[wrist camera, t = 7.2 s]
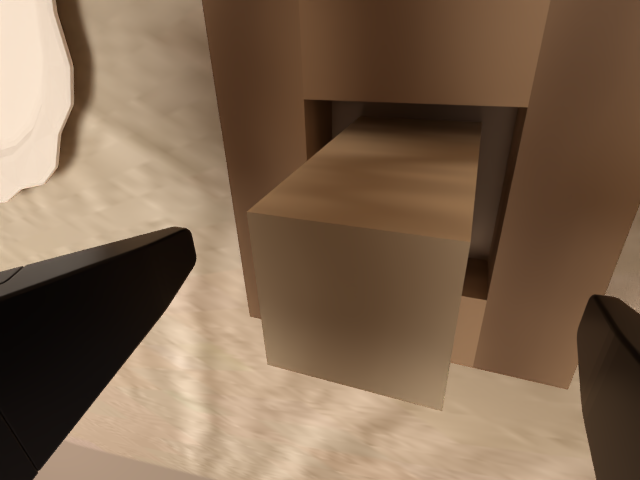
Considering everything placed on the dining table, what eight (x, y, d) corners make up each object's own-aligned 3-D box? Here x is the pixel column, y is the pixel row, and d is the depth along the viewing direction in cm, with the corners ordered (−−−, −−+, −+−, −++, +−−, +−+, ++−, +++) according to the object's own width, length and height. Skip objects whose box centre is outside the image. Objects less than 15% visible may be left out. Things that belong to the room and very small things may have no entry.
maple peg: (482, 122, 13) (470, 241, 6) (464, 233, 15) (441, 411, 8) (359, 116, 14) (246, 211, 8) (358, 219, 16) (267, 364, 10)
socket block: (679, -38, 10) (738, -51, 8) (556, 330, 16) (567, 389, 14) (250, -12, 14) (199, -15, 11) (279, 277, 20) (250, 316, 17)
